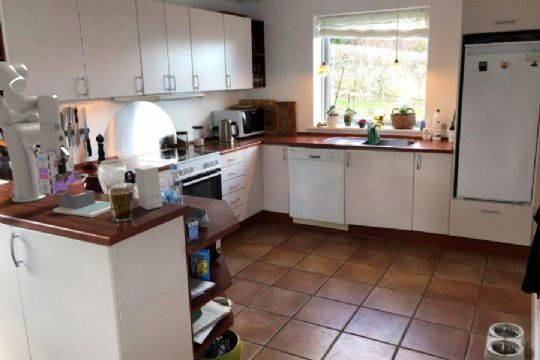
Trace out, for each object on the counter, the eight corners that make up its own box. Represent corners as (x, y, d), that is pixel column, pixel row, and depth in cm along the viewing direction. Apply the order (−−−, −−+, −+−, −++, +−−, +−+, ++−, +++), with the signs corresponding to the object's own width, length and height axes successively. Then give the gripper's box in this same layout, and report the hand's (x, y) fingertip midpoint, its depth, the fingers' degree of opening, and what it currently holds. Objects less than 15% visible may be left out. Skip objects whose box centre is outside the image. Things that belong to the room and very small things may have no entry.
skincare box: (162, 207, 175) (159, 167, 172) (145, 210, 172) (141, 169, 168) (154, 202, 182) (150, 164, 179) (138, 205, 178) (134, 166, 175)
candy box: (52, 195, 174) (47, 152, 170) (39, 194, 176) (34, 152, 172) (76, 186, 187) (72, 146, 183) (64, 185, 189) (60, 146, 185)
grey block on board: (53, 211, 174) (51, 196, 173) (84, 201, 187) (82, 187, 186) (92, 217, 165) (90, 201, 164) (121, 206, 179) (120, 191, 177)
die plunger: (66, 204, 177) (63, 184, 175) (78, 200, 182) (76, 181, 180) (77, 206, 174) (74, 185, 172) (89, 202, 179) (87, 182, 178)
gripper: (75, 127, 175) (80, 173, 179) (43, 124, 182) (48, 169, 187) (58, 130, 168) (64, 177, 173) (26, 127, 176) (32, 172, 180)
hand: (56, 172), depth 180 cm, fingers closed on candy box, 6 cm apart
